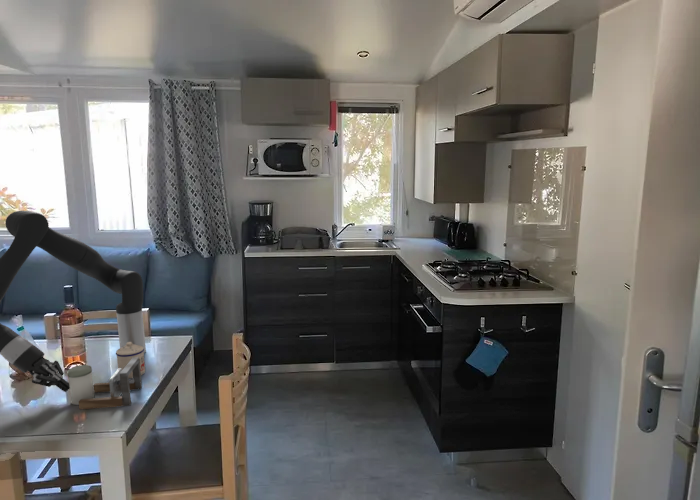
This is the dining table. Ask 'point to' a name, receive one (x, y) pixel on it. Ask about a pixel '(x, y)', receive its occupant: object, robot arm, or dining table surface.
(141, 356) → the teacup with lid
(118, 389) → the pusher
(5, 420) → the dining table surface
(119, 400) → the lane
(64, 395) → the dining table surface
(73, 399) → the jar
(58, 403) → the dining table surface
